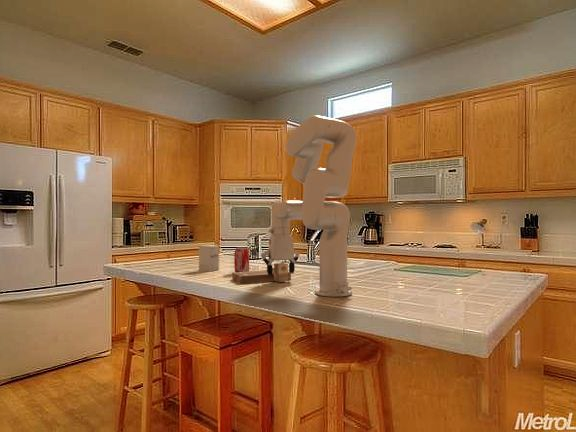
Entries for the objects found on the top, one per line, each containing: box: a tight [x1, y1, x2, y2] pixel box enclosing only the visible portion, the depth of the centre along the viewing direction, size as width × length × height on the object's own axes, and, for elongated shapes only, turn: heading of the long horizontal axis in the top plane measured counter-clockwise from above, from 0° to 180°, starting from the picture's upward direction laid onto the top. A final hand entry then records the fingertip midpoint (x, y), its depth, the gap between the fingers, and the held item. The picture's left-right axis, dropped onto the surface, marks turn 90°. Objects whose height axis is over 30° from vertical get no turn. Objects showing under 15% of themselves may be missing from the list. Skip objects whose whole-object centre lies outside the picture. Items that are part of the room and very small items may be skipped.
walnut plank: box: [231, 269, 292, 285], centre depth 158 cm, size 12×22×3 cm, turn 116°
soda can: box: [233, 247, 250, 272], centre depth 178 cm, size 7×7×12 cm
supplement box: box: [198, 244, 220, 273], centre depth 187 cm, size 7×7×13 cm
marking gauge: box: [272, 262, 289, 283], centre depth 155 cm, size 14×4×7 cm, turn 26°
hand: (280, 273), depth 152 cm, fingers open, 9 cm apart
